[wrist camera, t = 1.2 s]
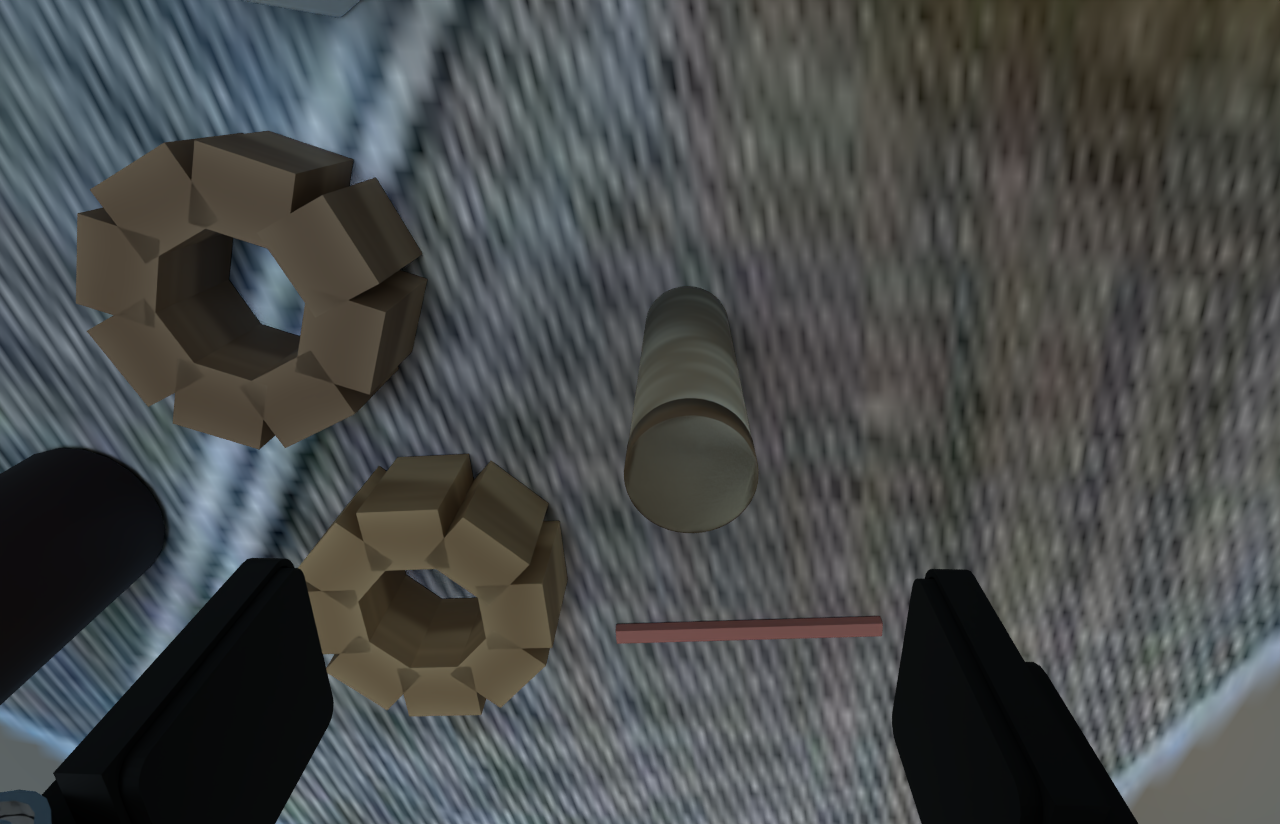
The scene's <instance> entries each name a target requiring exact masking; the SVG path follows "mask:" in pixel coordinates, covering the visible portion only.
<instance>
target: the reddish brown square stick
mask: <svg viewBox="0 0 1280 824" xmlns="http://www.w3.org/2000/svg"><path fill="white" fill-rule="evenodd" d="M882 626H883V623H882V620H881V618H880V616H874V617H841V618H808V619H774V620H741V621H707V622H674V623H640V624H617V625H616V638H617V643H652V642H688V641H724V640H760V639H795V638H831V637H867V636H882Z"/></svg>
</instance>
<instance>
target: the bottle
mask: <svg viewBox="0 0 1280 824" xmlns="http://www.w3.org/2000/svg"><path fill="white" fill-rule="evenodd" d="M164 534H165V527H164V523H163V518H162V514H161V510H160V508H159V506H158V505H157V503H156V501H155V500H154V498H153V496H152V495H151V493H150V491H149V490H148V489H147V488H146V487H145V486H144V485H143V484H142V483H141V482H140V481H139V480H138V479H137V478H136V477H135V476H134V475H133V474H132V473H131V472H130V471H129V470H127V469H125V468H124V467H122V466H120V465H119V464H117V463H116V462H114V461H112V460H111V459H109V458H107V457H104V456H101V455H98V454H95V453H92V452H89V451H86V450H82V449H66V448H58V449H54V450H50V451H46V452H42V453H38V454H34V455H32V456H31V457H29V458H27V459H25V460H24V461H22V462H20V463H19V464H17V465H15V466H13V467H12V468H10V469H8V470H7V471H5V472H3V473H1V474H0V705H1V704H2V703H3V702H4V701H5V700H7V699H8V698H9V697H10V696H11V695H12V694H13V693H14V692H15V691H16V690H17V689H18V688H20V687H21V686H22V685H23V684H24V683H25V682H26V681H27V680H28V679H29V678H30V677H31V676H33V675H34V674H35V673H36V672H37V671H38V670H39V669H40V668H41V667H42V666H43V665H44V664H46V663H47V662H48V661H49V660H50V659H51V658H52V657H53V656H54V655H55V654H56V653H57V652H59V651H60V650H61V649H62V648H63V647H64V646H65V645H66V644H67V643H68V642H69V641H70V640H72V639H73V638H74V637H75V636H76V635H77V634H78V633H79V632H80V631H81V630H82V629H84V628H85V627H86V626H87V625H88V624H89V623H90V622H91V621H92V620H93V619H94V618H95V617H97V616H98V615H99V614H100V613H101V612H102V611H103V610H104V609H105V608H106V607H107V606H108V605H110V604H111V603H112V602H113V601H114V600H115V599H116V598H117V597H118V596H119V595H120V594H121V593H123V592H124V591H125V590H126V589H127V588H128V587H129V586H130V585H131V584H132V583H133V582H134V581H136V580H137V579H138V578H139V577H140V576H141V575H142V574H143V573H144V572H145V571H146V570H147V569H149V568H150V567H151V566H152V564H153V563H154V561H155V559H156V558H157V556H158V555H159V553H160V552H161V550H162V548H163V542H164Z"/></svg>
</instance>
